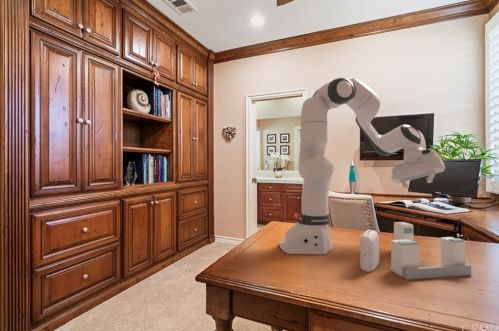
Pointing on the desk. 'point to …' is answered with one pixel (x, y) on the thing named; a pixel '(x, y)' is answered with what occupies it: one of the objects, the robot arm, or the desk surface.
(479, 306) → the desk surface
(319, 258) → the desk surface
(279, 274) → the desk surface
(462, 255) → the din mount
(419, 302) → the desk surface
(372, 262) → the photo printer
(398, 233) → the block
